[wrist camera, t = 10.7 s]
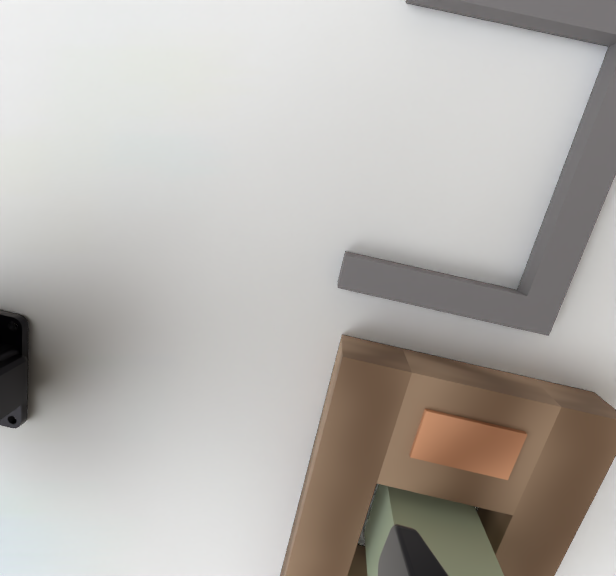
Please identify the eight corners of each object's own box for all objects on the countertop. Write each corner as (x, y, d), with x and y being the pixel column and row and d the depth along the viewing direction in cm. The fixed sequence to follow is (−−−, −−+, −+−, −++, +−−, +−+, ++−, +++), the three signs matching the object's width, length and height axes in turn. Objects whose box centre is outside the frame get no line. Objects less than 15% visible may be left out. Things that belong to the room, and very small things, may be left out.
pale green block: (364, 530, 22) (376, 685, 15) (384, 466, 21) (407, 603, 14) (441, 548, 22) (487, 712, 15) (465, 485, 21) (528, 632, 14)
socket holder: (273, 603, 24) (265, 654, 21) (342, 334, 19) (342, 358, 16) (472, 651, 23) (489, 709, 21) (594, 392, 19) (635, 426, 16)
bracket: (337, 282, 18) (337, 287, 17) (416, -43, 15) (422, -59, 14) (537, 327, 18) (548, 335, 17) (665, 10, 14) (688, -2, 14)
